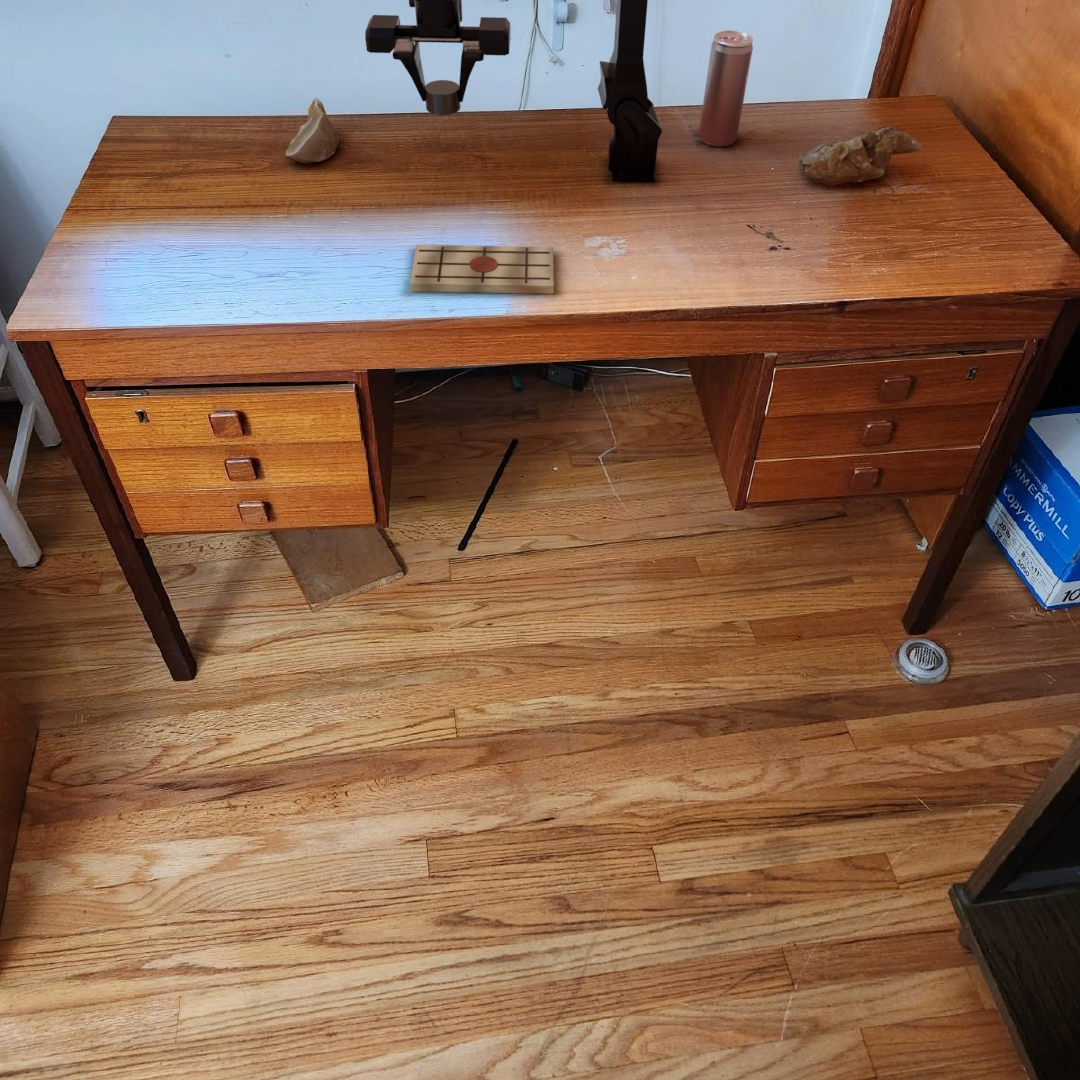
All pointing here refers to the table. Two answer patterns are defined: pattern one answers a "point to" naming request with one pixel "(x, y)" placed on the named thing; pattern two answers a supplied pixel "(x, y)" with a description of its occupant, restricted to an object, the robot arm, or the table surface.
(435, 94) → the dark brown cylinder
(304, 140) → the stone
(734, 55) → the beverage can
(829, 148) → the mineral specimen
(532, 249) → the board
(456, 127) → the table surface
